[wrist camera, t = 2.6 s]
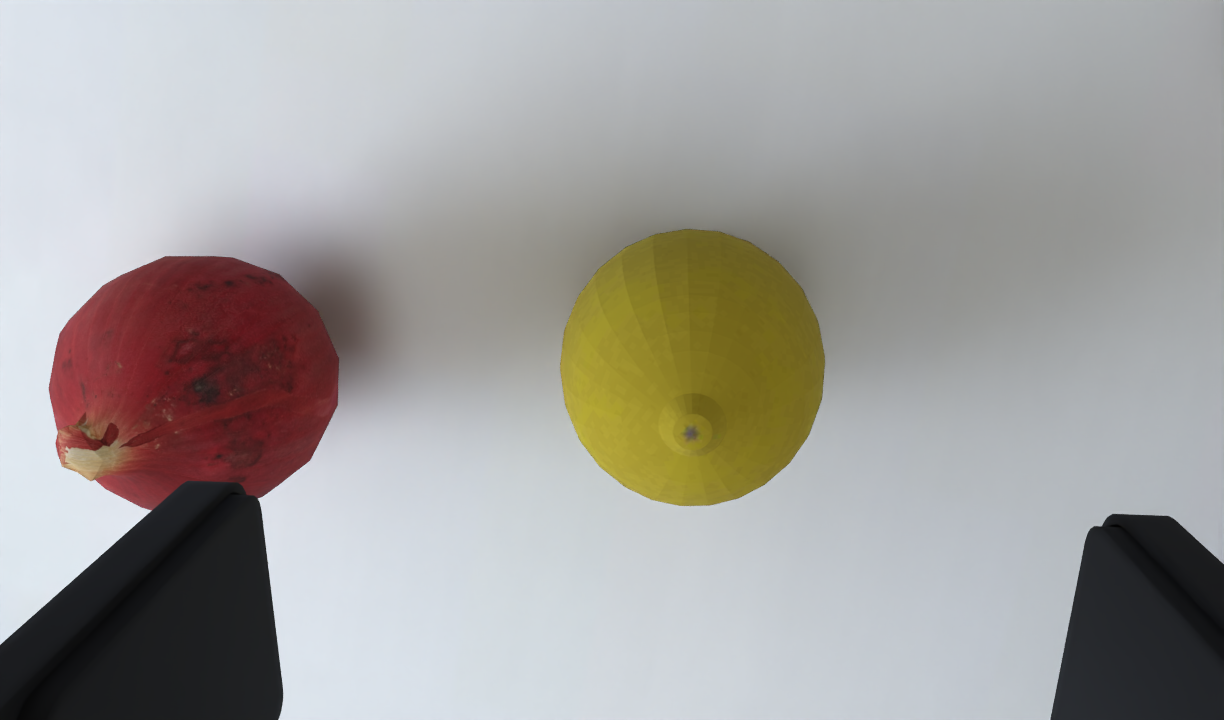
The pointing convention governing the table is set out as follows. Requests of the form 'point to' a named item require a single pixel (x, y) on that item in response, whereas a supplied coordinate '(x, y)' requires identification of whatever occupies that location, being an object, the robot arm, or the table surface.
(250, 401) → the onion
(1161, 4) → the table surface
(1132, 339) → the table surface
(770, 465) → the lemon
